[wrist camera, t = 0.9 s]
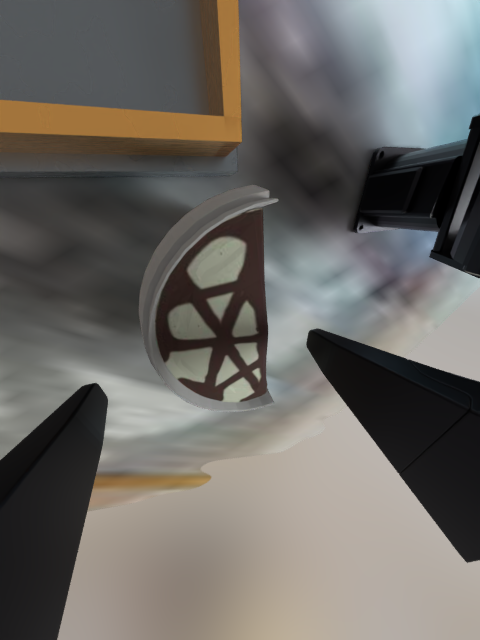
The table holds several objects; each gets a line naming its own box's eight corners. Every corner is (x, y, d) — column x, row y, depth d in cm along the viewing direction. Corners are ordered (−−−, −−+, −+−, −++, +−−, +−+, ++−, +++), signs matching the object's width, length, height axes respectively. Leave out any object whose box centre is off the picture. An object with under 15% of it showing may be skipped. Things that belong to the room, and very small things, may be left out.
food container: (125, 205, 12) (37, 197, 4) (214, 196, 14) (279, 176, 5) (176, 343, 19) (181, 444, 11) (232, 328, 20) (274, 408, 12)
